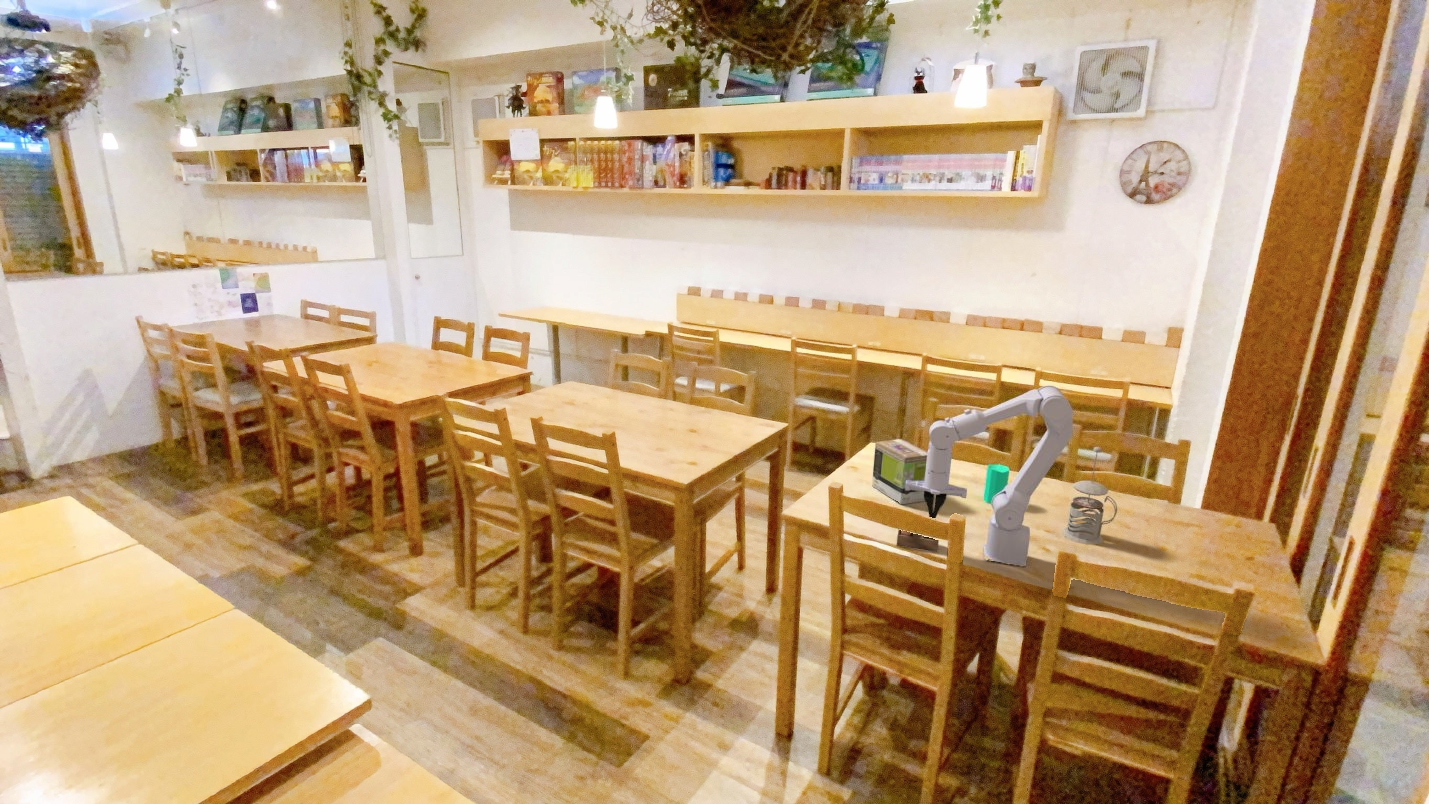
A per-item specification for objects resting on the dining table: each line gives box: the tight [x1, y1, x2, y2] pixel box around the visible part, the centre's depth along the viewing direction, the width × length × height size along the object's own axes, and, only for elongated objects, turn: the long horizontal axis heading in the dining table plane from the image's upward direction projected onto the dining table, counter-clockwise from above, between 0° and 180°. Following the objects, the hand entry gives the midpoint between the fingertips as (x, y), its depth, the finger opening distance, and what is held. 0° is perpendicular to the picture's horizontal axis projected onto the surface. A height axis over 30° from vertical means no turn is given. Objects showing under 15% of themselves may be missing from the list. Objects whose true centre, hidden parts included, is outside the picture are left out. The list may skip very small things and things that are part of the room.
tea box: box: [871, 438, 928, 505], centre depth 206 cm, size 15×10×15 cm, turn 22°
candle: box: [982, 464, 1010, 505], centre depth 202 cm, size 6×6×12 cm
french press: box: [1061, 446, 1118, 545], centre depth 179 cm, size 10×12×25 cm
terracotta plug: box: [901, 530, 911, 536], centre depth 177 cm, size 4×4×4 cm
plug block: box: [896, 529, 940, 553], centre depth 177 cm, size 10×4×3 cm, turn 71°
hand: (932, 519), depth 174 cm, fingers closed
